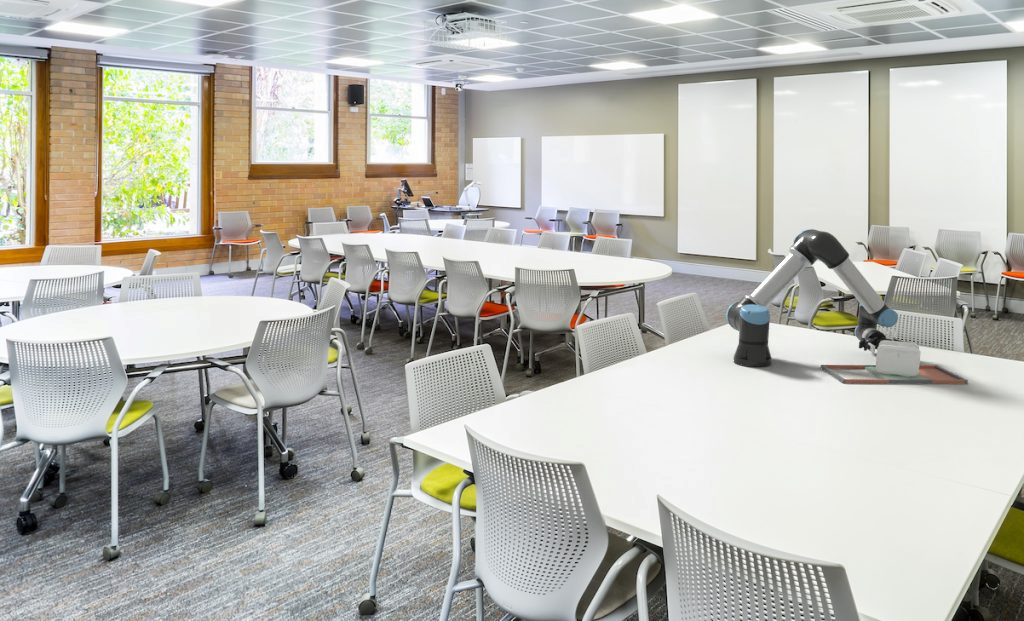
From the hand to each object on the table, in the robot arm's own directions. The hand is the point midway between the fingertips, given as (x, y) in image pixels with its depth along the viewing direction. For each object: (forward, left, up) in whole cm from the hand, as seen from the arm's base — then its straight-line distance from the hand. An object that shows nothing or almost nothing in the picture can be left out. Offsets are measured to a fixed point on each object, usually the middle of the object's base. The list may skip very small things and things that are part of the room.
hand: (892, 350), depth 311 cm
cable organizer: (-1, -7, -8) cm, 10 cm away
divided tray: (-3, -7, -9) cm, 11 cm away
